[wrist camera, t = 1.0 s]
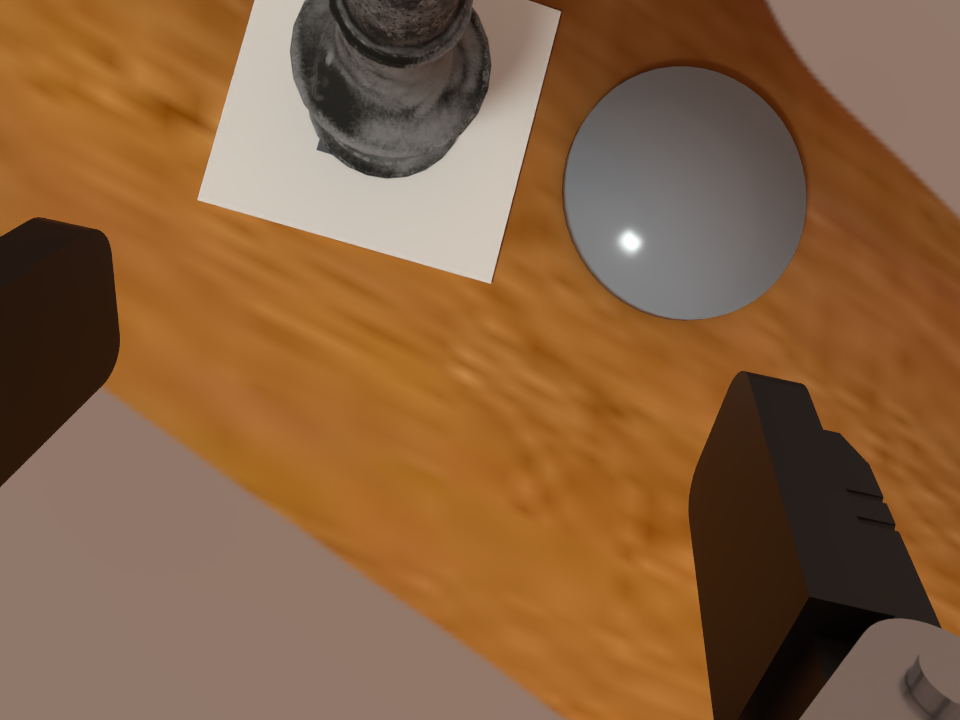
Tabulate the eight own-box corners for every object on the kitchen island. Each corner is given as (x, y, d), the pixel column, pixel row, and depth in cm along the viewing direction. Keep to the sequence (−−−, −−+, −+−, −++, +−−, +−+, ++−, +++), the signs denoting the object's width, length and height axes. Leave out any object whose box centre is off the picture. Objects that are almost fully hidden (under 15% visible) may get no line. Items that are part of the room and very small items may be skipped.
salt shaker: (491, 47, 27) (602, -213, 15) (448, 209, 27) (527, 71, 15) (324, -10, 26) (304, -333, 14) (276, 156, 26) (214, -35, 14)
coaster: (534, 281, 27) (538, 279, 27) (596, 39, 28) (601, 32, 27) (766, 348, 29) (775, 348, 28) (820, 116, 29) (830, 110, 29)
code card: (197, 200, 25) (196, 199, 25) (279, -85, 26) (279, -88, 26) (490, 283, 27) (491, 283, 27) (560, 12, 28) (561, 10, 27)
